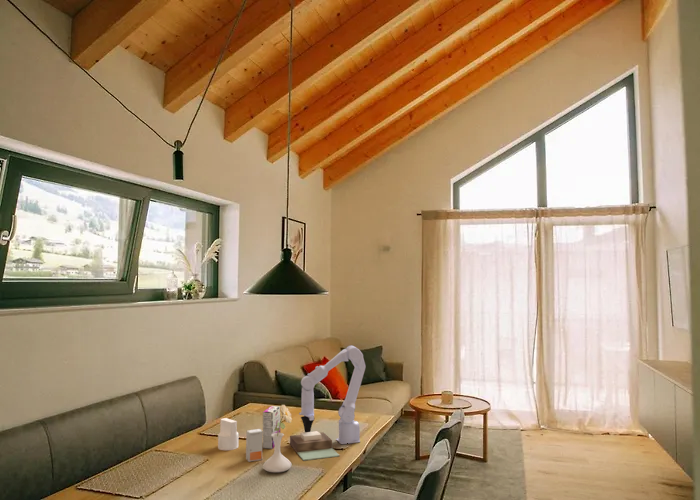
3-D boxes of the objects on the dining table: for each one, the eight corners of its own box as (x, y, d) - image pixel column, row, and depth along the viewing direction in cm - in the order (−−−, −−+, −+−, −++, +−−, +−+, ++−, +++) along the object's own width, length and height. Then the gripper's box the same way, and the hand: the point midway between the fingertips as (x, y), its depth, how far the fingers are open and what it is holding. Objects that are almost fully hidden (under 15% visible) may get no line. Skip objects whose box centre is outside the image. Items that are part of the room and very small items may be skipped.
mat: (332, 449, 236) (332, 448, 236) (339, 456, 227) (339, 455, 227) (297, 453, 230) (297, 452, 231) (303, 460, 221) (303, 459, 221)
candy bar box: (270, 441, 248) (270, 405, 249) (280, 441, 247) (281, 406, 248) (262, 448, 237) (262, 411, 238) (272, 449, 236) (272, 411, 237)
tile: (317, 435, 244) (317, 431, 244) (321, 439, 238) (321, 434, 238) (300, 437, 241) (300, 432, 241) (304, 441, 235) (304, 436, 235)
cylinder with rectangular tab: (242, 447, 240) (242, 420, 240) (225, 451, 233) (225, 424, 234) (230, 442, 246) (231, 416, 247) (214, 447, 239) (214, 420, 240)
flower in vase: (279, 477, 203) (279, 410, 204) (256, 471, 209) (257, 407, 210) (299, 467, 214) (300, 404, 215) (278, 462, 220) (278, 400, 221)
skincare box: (248, 462, 219) (249, 432, 220) (245, 459, 223) (246, 430, 224) (262, 460, 222) (263, 431, 223) (259, 457, 226) (259, 428, 227)
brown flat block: (323, 440, 248) (323, 432, 249) (332, 449, 236) (332, 440, 237) (289, 444, 243) (290, 435, 243) (297, 453, 231) (297, 443, 231)
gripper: (295, 400, 251) (295, 429, 250) (303, 406, 237) (303, 437, 237) (309, 398, 253) (309, 427, 253) (318, 405, 240) (318, 436, 239)
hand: (307, 432), depth 245 cm, fingers closed
